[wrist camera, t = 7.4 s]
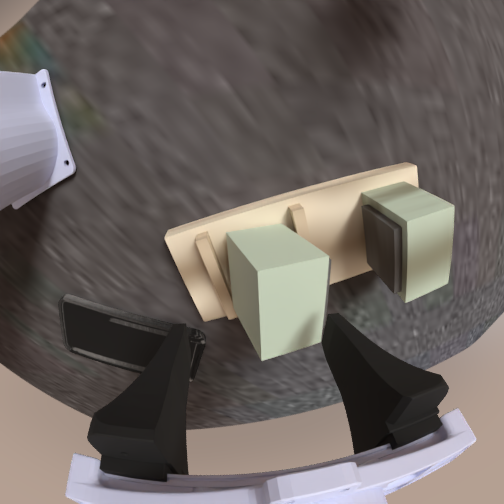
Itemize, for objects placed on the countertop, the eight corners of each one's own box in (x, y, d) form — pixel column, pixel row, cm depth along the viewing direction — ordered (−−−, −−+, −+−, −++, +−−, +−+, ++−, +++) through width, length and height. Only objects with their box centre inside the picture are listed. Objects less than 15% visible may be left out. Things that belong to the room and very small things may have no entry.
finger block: (233, 307, 21) (261, 360, 16) (226, 232, 18) (257, 271, 13) (288, 294, 22) (328, 339, 17) (289, 222, 20) (338, 253, 15)
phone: (192, 384, 28) (64, 349, 24) (192, 376, 29) (67, 343, 25) (208, 336, 25) (57, 294, 21) (208, 328, 26) (61, 288, 22)
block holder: (167, 230, 20) (145, 284, 14) (406, 162, 20) (468, 186, 13) (204, 310, 24) (202, 377, 17) (410, 245, 23) (459, 286, 17)
